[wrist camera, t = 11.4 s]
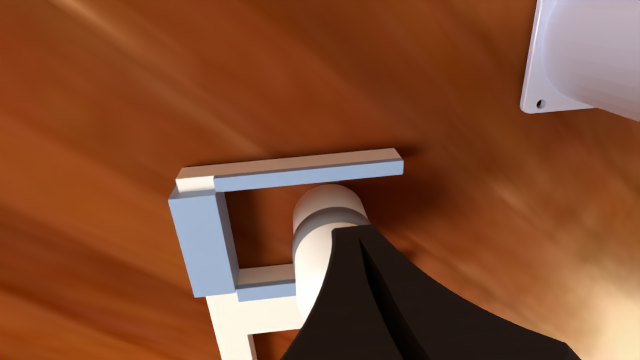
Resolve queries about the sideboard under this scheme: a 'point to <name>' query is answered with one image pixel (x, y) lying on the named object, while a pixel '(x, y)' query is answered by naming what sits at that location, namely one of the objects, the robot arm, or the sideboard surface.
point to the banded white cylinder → (319, 235)
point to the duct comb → (219, 250)
